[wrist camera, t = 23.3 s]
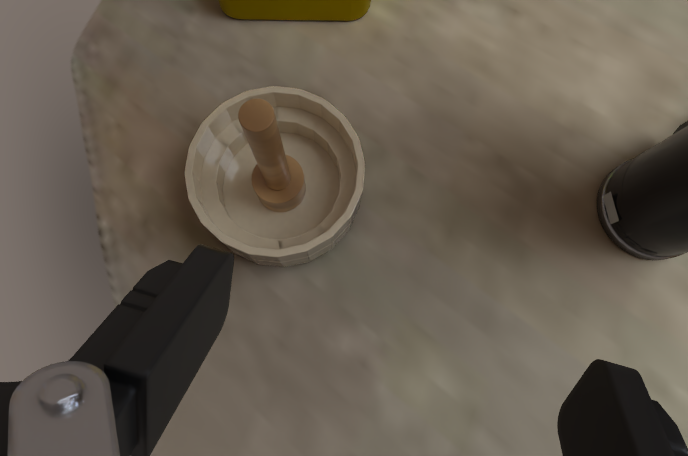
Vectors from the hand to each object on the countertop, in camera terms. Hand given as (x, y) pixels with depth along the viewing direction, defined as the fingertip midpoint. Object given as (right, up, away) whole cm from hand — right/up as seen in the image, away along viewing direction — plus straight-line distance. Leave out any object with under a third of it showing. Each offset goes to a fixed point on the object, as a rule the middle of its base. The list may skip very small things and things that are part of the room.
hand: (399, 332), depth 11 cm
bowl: (-7, +6, +35) cm, 36 cm away
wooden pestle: (-7, +6, +34) cm, 35 cm away
